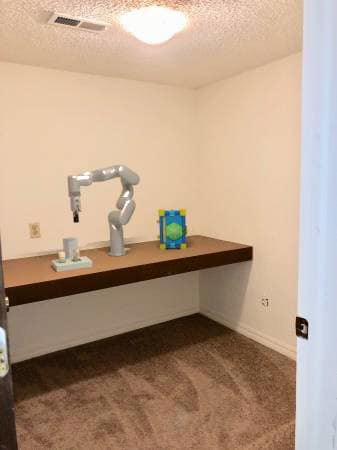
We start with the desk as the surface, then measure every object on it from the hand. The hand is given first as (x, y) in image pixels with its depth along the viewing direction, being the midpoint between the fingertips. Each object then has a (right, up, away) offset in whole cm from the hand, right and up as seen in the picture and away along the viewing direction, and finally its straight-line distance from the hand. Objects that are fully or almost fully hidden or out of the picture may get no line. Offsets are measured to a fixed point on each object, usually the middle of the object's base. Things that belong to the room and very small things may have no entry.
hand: (76, 222), depth 239 cm
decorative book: (+63, -20, +41) cm, 78 cm away
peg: (+1, -28, -3) cm, 28 cm away
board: (-1, -28, -5) cm, 29 cm away
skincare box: (-7, -25, +15) cm, 30 cm away
